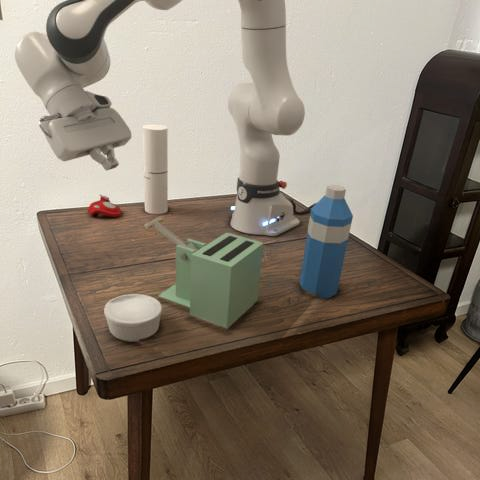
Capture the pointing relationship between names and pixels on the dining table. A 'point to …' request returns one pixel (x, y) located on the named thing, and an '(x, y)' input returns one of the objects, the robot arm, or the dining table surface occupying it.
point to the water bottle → (326, 243)
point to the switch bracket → (182, 275)
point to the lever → (168, 233)
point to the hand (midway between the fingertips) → (113, 167)
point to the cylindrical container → (155, 168)
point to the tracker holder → (104, 208)
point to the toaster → (225, 279)
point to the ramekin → (133, 316)
